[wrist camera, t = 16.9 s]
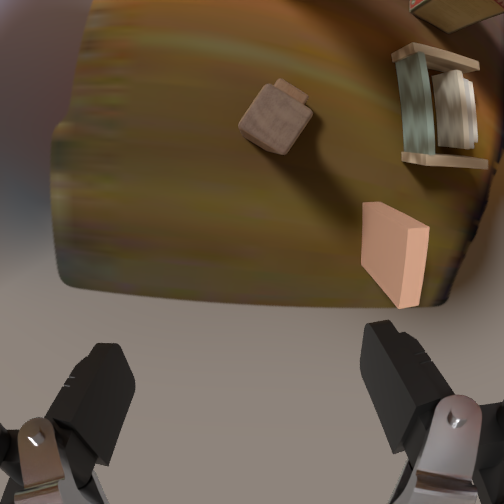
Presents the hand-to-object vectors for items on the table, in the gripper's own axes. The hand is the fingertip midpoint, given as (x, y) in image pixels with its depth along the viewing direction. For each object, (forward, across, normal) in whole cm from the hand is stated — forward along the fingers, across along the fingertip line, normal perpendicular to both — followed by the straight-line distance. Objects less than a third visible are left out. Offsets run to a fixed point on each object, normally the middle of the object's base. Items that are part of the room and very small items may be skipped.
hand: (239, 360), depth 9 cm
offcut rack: (+34, -31, -12) cm, 47 cm away
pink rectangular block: (+34, -18, +8) cm, 39 cm away
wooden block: (+34, -5, -10) cm, 36 cm away
